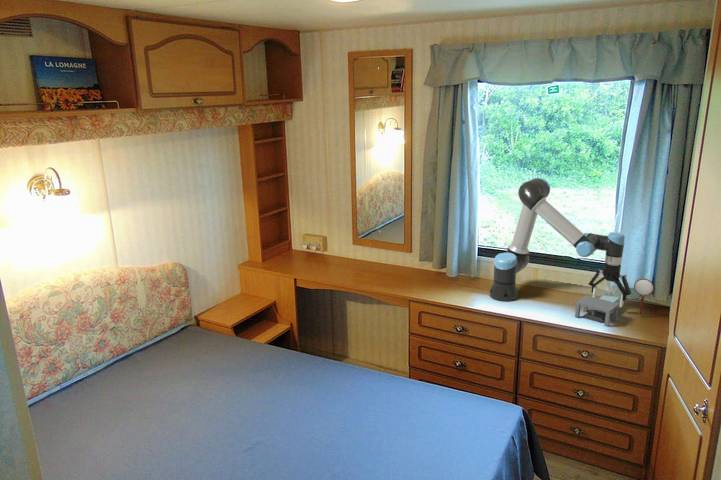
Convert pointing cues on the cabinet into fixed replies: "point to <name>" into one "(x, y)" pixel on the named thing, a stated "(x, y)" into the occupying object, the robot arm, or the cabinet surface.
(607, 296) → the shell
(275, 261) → the cabinet surface
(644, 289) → the magnifying glass
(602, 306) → the grey footstool
